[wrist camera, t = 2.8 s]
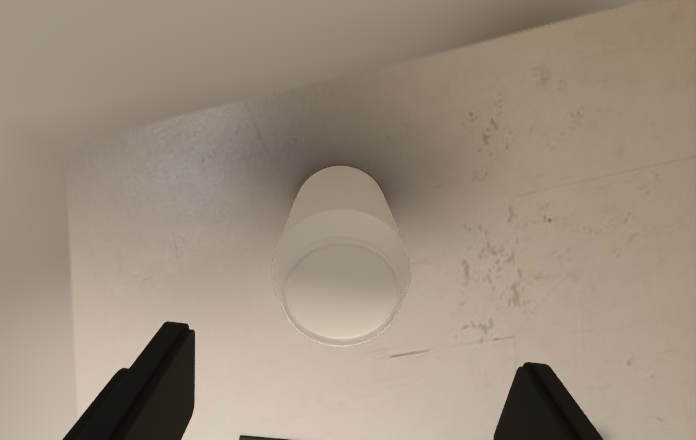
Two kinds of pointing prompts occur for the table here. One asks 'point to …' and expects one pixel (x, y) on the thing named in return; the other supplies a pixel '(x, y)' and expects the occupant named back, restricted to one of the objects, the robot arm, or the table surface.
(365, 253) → the beverage can
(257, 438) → the mat
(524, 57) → the table surface
